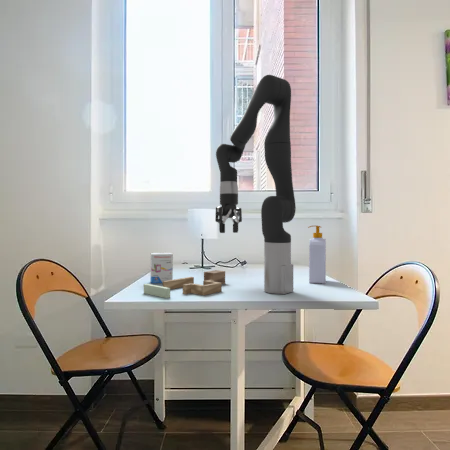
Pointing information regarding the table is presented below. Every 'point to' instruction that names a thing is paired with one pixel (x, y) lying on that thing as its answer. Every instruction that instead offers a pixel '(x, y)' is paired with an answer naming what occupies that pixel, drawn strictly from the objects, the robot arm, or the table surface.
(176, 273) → the table surface
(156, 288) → the wall
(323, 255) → the soap bottle
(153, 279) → the ink box
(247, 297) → the table surface
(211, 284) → the wooden maze walls
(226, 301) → the table surface
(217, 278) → the walnut block
